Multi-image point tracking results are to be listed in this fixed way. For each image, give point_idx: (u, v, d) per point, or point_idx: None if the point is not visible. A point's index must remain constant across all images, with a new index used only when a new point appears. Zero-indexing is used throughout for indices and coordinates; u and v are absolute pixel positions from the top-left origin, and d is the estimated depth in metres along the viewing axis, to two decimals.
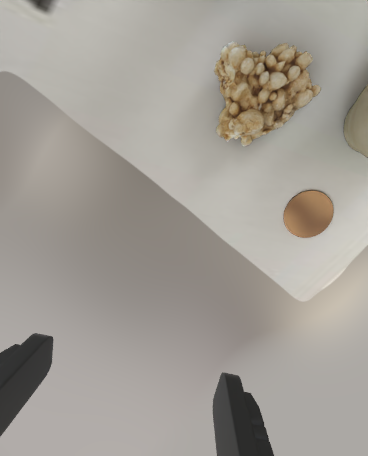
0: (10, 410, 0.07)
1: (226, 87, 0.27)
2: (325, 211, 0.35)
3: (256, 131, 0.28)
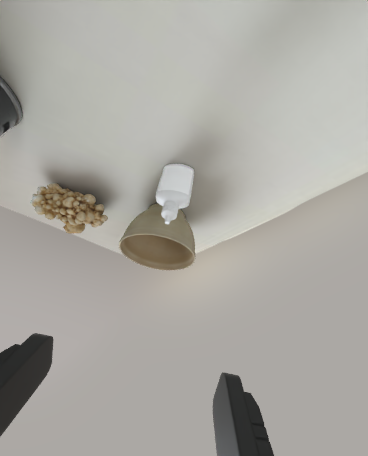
0: (10, 410, 0.07)
1: None
2: None
3: (80, 231, 0.47)
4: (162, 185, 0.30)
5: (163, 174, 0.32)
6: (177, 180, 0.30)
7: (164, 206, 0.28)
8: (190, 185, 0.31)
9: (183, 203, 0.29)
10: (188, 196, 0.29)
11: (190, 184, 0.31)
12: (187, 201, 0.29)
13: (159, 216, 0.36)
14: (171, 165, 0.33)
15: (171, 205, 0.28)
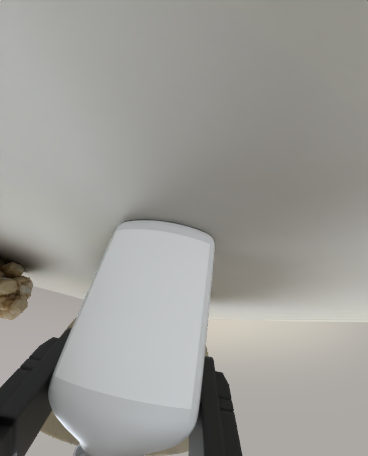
0: None
1: None
2: None
3: None
4: (82, 339, 0.07)
5: (102, 268, 0.09)
6: (144, 317, 0.07)
7: None
8: (201, 332, 0.07)
9: None
10: (191, 417, 0.06)
11: (201, 326, 0.07)
12: None
13: None
14: (137, 228, 0.09)
15: None
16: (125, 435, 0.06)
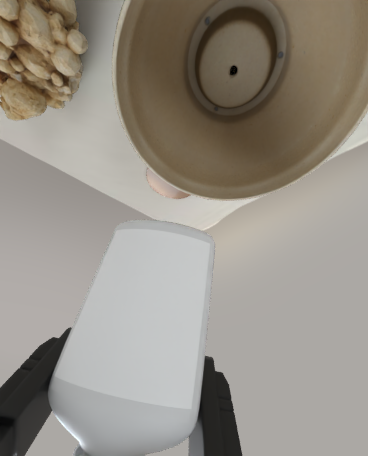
0: None
1: None
2: None
3: (36, 115, 0.21)
4: (82, 339, 0.07)
5: (102, 268, 0.09)
6: (144, 317, 0.07)
7: None
8: (201, 332, 0.07)
9: None
10: (191, 417, 0.06)
11: (201, 326, 0.07)
12: None
13: None
14: (137, 228, 0.09)
15: None
16: (125, 435, 0.06)
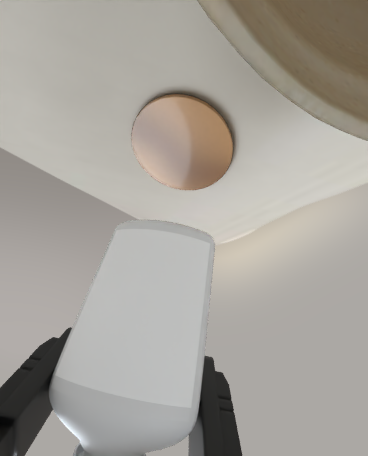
0: None
1: None
2: (215, 148, 0.16)
3: None
4: (82, 338, 0.07)
5: (103, 268, 0.09)
6: (144, 317, 0.07)
7: None
8: (201, 331, 0.07)
9: None
10: (191, 416, 0.06)
11: (201, 325, 0.07)
12: None
13: None
14: (137, 228, 0.09)
15: None
16: (125, 434, 0.06)
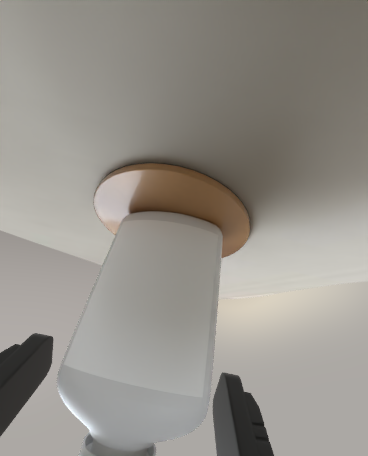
0: (10, 410, 0.07)
1: None
2: (222, 228, 0.10)
3: None
4: (91, 328, 0.07)
5: (110, 259, 0.09)
6: (153, 306, 0.07)
7: None
8: (211, 321, 0.07)
9: None
10: (202, 406, 0.06)
11: (211, 315, 0.07)
12: None
13: None
14: (144, 219, 0.09)
15: None
16: (136, 422, 0.05)
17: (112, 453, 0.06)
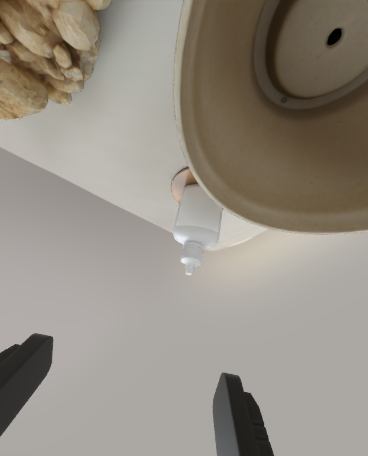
0: (10, 410, 0.07)
1: None
2: None
3: (34, 112, 0.15)
4: (182, 217, 0.22)
5: (183, 200, 0.24)
6: (201, 210, 0.22)
7: (185, 249, 0.21)
8: (219, 216, 0.23)
9: (211, 243, 0.22)
10: (217, 234, 0.21)
11: (219, 215, 0.23)
12: (216, 240, 0.22)
13: None
14: (194, 186, 0.25)
15: (194, 248, 0.20)
16: (200, 233, 0.21)
17: None
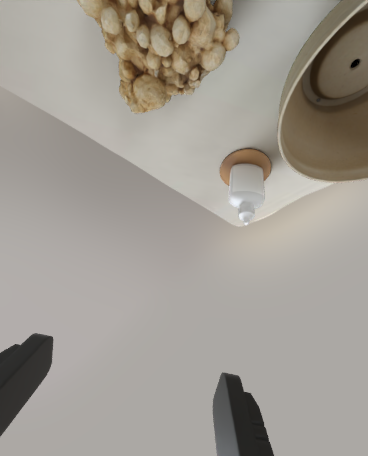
0: (10, 410, 0.07)
1: None
2: None
3: (158, 108, 0.23)
4: (236, 185, 0.30)
5: (234, 174, 0.32)
6: (250, 181, 0.31)
7: (242, 207, 0.29)
8: (263, 185, 0.31)
9: (259, 204, 0.30)
10: (264, 197, 0.30)
11: (263, 184, 0.31)
12: (262, 202, 0.30)
13: None
14: (241, 165, 0.33)
15: (249, 206, 0.29)
16: (252, 196, 0.29)
17: None
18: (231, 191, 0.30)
